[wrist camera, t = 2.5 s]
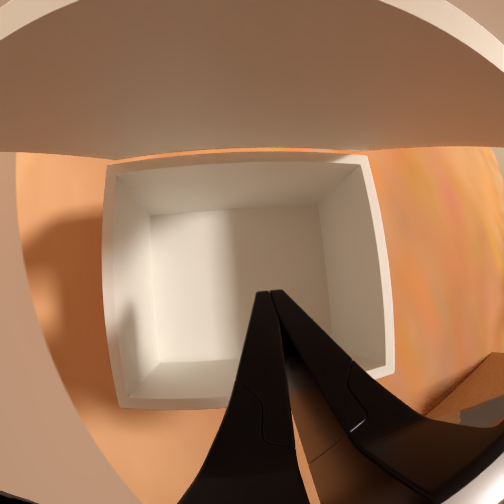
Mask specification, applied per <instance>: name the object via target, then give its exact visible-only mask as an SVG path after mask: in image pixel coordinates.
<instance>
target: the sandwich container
mask: <svg viewBox="0 0 504 504" xmlns="http://www.w3.org/2000/svg"><path fill="white" fill-rule="evenodd" d="M425 417H428V418H431V419H434V420H439V421H444V422H450V423H455V424H461V425H468V426H475V427H485V428H487V427H489V426H490V425H492V424H493V423H495V422H496V421H498V420H499V419H501V418H502V417H504V353H497V352H492V353H491V354H490V355H489V356H488V357H487V358H486V359H485V360H484V361H483V362H482V363H481V364H480V365H479V366H478V367H477V368H476V369H475V370H474V371H473V372H472V373H471V374H470V375H469V376H468V377H467V378H466V379H465V380H464V381H463V382H462V383H461V384H460V385H459V386H458V387H457V388H456V389H455V390H454V391H453V392H452V393H451V394H450V395H449V396H448V397H446V398H445V399H444V400H443V401H442V402H441V403H440V404H439V405H437V406H436V407H435V408H434V409H433V410H431V411H430V412H429V413H428V414H427V415H425Z"/></svg>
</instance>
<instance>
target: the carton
mask: <svg viewBox="0 0 504 504" xmlns="http://www.w3.org/2000/svg"><path fill="white" fill-rule="evenodd" d="M102 287H103V304H104V316H105V326H106V335H107V343H108V351H109V357H110V364H111V370H112V375H113V381H114V386H115V391H116V396H117V400H118V405H119V408H128V409H146V410H199V409H217V408H227V407H228V404H229V400H230V397H231V393H232V389H233V385H234V381H235V378H236V374H237V369H238V365H239V361H240V357H241V353H242V349H243V344H244V340H245V336H246V332H247V328H248V323H249V319H250V315H251V310H252V306H253V302H254V298H255V293H256V292H257V291H266V290H267V291H270V290H276V289H282V290H284V291H285V292H286V293H287V294H288V295H289V296H290V297H291V298H292V299H293V300H294V301H295V302H296V303H297V304H298V305H299V306H300V307H301V308H302V309H303V310H304V311H305V312H306V313H307V314H308V315H309V316H310V317H311V318H312V319H313V320H314V321H315V322H316V323H317V324H318V325H319V326H320V327H321V328H322V329H323V330H324V331H325V332H326V333H327V334H328V335H329V336H330V337H331V338H332V339H333V340H334V341H335V342H336V343H337V344H338V345H339V346H340V347H341V348H342V349H343V350H344V351H345V352H346V353H347V354H348V355H349V356H350V357H351V358H352V360H354V361H355V362H356V363H357V364H358V365H359V366H360V367H361V368H362V369H364V370H365V371H366V372H367V373H368V374H369V375H370V376H371V377H372V378H373V379H378V378H381V377H384V376H387V375H390V374H393V373H395V344H394V318H393V303H392V291H391V280H390V271H389V263H388V256H387V249H386V242H385V236H384V230H383V224H382V219H381V214H380V208H379V204H378V199H377V194H376V190H375V185H374V181H373V177H372V173H371V169H370V165H369V161H368V158H367V156H364V155H352V154H338V153H319V152H230V153H211V154H196V155H184V156H174V157H164V158H155V159H147V160H140V161H132V162H126V163H119V164H113V165H107V171H106V180H105V190H104V203H103V219H102Z"/></svg>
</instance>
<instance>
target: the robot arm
mask: <svg viewBox="0 0 504 504" xmlns="http://www.w3.org/2000/svg"><path fill="white" fill-rule="evenodd" d="M291 411H292V413H291ZM292 414H293V417H294V420H295V424H296V427H297V430H298V433H299V436H300V440H301V443H302V446H303V449H304V452H305V456H306V459H307V462H308V464H309V469H310V472H311V475H312V478H313V481H314V484H315V488H316V491H317V494H318V497H319V500H320V503H321V504H504V417H502V418H501V419H499V420H498V421H496V422H495V423H493V424H492V425H490V426H489V427H487V428H485V427H475V426H468V425H461V424H455V423H450V422H444V421H439V420H434V419H431V418H428V417H425V416H423V415H421V414H419V413H417V412H416V411H414V410H413V409H412V408H410V407H409V406H408V405H406V404H405V403H404V402H402V401H401V400H400V399H398V398H397V397H396V396H395V395H393V394H392V393H391V392H389V391H388V390H387V389H385V388H384V387H383V386H382V385H381V384H379V383H378V382H377V381H376V380H374V379H373V378H372V377H371V376H370V375H369V374H368V373H367V372H366V371H365V370H364V369H362V368H361V367H360V366H359V365H358V364H357V363H356V362H355V361H354V360H352V358H351V357H350V356H349V355H348V354H347V353H346V352H345V351H344V350H343V349H342V348H341V347H340V346H339V345H338V344H337V343H336V342H335V341H334V340H333V339H332V338H331V337H330V336H329V335H328V334H327V333H326V332H325V331H324V330H323V329H322V328H321V327H320V326H319V325H318V324H317V323H316V322H315V321H314V320H313V319H312V318H311V317H310V316H309V315H308V314H307V313H306V312H305V311H304V310H303V309H302V308H301V307H300V306H299V305H298V304H297V303H296V302H295V301H294V300H293V299H292V298H291V297H290V296H289V295H288V294H287V293H286V292H285V291H284V290H282V289H276V290H270V291H267V290H266V291H257V292H256V293H255V298H254V302H253V306H252V310H251V315H250V319H249V323H248V328H247V332H246V336H245V340H244V344H243V349H242V353H241V357H240V361H239V365H238V369H237V374H236V378H235V381H234V385H233V389H232V393H231V397H230V400H229V404H228V407H227V410H226V412H225V415H224V418H223V420H222V423H221V425H220V427H219V430H218V432H217V434H216V437H215V439H214V441H213V443H212V446H211V448H210V450H209V452H208V455H207V457H206V459H205V461H204V463H203V465H202V467H201V469H200V471H199V473H198V474H197V476H196V478H195V479H194V481H193V482H192V484H191V485H190V487H189V488H188V489H187V491H186V492H185V494H184V495H183V496H182V498H181V499H180V501H179V502H178V503H177V504H310V503H309V499H308V496H307V493H306V490H305V487H304V484H303V480H302V477H301V474H300V471H299V467H298V462H297V456H296V449H295V439H294V430H293V422H292ZM0 504H38V503H35V502H33V501H30V500H27V499H24V498H21V497H17V496H14V495H11V494H8V493H6V492H3V491H0Z"/></svg>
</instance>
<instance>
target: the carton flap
mask: <svg viewBox="0 0 504 504" xmlns="http://www.w3.org/2000/svg"><path fill="white" fill-rule="evenodd" d="M434 146H483V147H504V45H503V44H502V43H501V42H500V41H499V40H497V39H496V38H495V37H494V36H493V35H492V34H491V33H489V32H488V31H487V30H486V29H485V28H483V27H482V26H481V25H479V24H478V23H477V22H476V21H474V20H473V19H472V18H470V17H469V16H468V15H466V14H465V13H464V12H462V11H461V10H459V9H458V8H456V7H455V6H453V5H452V4H450V3H449V2H447V1H446V0H11V1H9V2H8V3H6V4H5V5H3V6H2V7H0V152H30V153H47V154H61V155H73V156H84V157H93V158H102V159H111V160H119V159H125V158H132V157H138V156H146V155H154V154H162V153H172V152H182V151H194V150H207V149H225V148H259V147H284V148H317V149H335V150H349V151H370V150H381V149H394V148H410V147H434Z"/></svg>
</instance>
